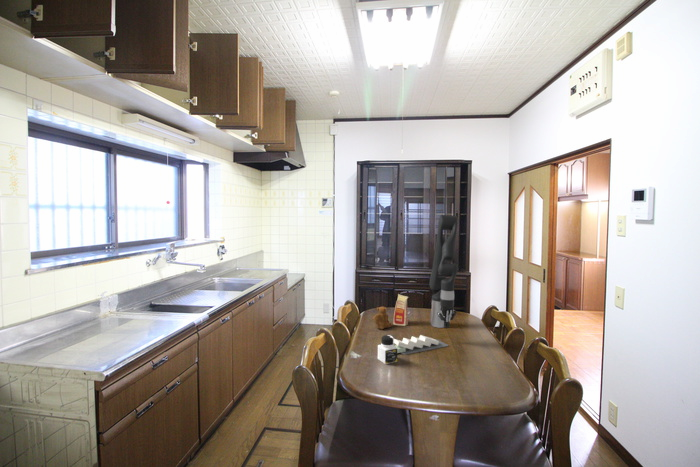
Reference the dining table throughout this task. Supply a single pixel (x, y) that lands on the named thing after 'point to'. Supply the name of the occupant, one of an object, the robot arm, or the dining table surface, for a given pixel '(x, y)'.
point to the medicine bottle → (387, 350)
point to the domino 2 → (400, 349)
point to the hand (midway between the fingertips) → (446, 327)
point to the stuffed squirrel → (382, 319)
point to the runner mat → (424, 348)
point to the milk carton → (401, 311)
